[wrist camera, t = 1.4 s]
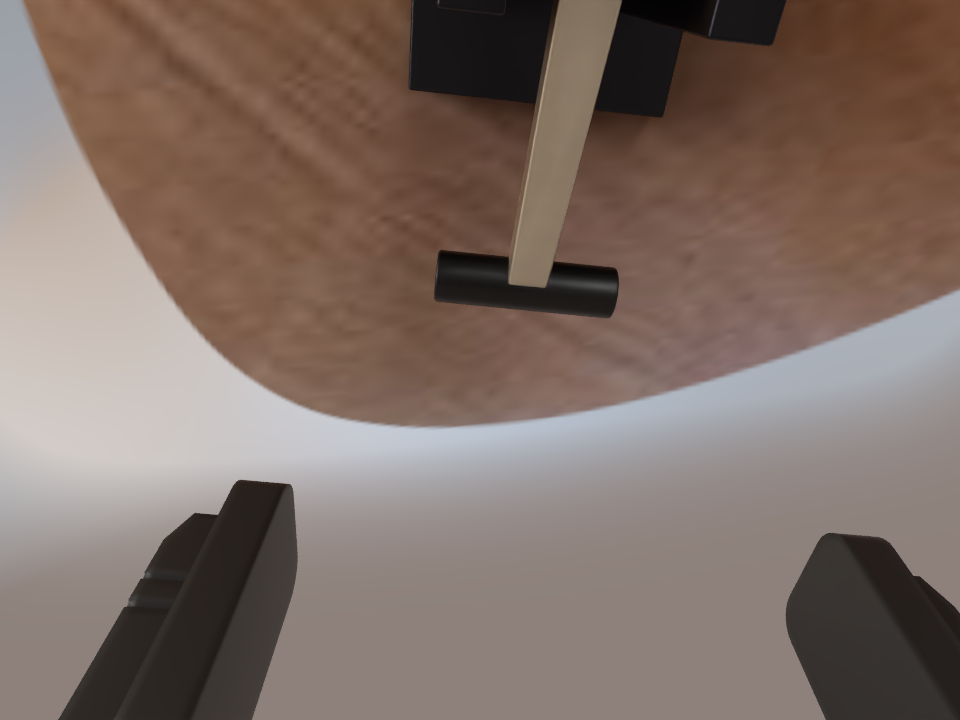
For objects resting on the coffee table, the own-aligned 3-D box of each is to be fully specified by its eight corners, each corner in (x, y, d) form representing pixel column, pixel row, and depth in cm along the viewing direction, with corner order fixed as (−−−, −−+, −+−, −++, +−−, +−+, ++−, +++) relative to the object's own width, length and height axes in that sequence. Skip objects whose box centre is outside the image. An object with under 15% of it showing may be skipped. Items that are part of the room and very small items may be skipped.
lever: (604, 278, 19) (608, 342, 18) (439, 261, 19) (431, 324, 18) (805, -268, 9) (849, -214, 8) (466, -315, 9) (452, -267, 8)
